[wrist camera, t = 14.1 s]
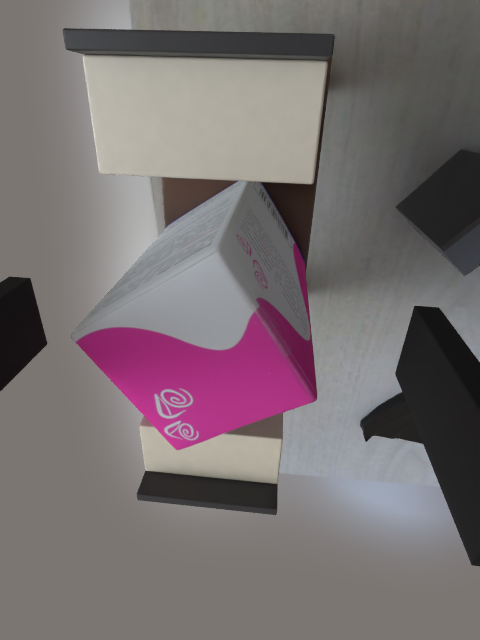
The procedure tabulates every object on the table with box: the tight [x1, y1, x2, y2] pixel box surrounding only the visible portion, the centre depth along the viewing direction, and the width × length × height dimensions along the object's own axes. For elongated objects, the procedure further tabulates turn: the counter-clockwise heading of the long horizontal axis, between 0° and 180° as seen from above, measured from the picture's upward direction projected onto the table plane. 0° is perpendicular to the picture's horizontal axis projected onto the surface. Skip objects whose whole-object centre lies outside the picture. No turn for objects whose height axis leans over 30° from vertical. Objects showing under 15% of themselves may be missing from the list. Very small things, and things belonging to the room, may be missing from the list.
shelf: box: [162, 56, 332, 272], centre depth 27 cm, size 18×8×13 cm, turn 178°
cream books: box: [63, 28, 335, 515], centre depth 17 cm, size 16×6×10 cm, turn 178°
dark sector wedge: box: [360, 393, 423, 444], centre depth 41 cm, size 8×14×2 cm, turn 102°
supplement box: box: [71, 181, 317, 450], centre depth 16 cm, size 6×6×12 cm
